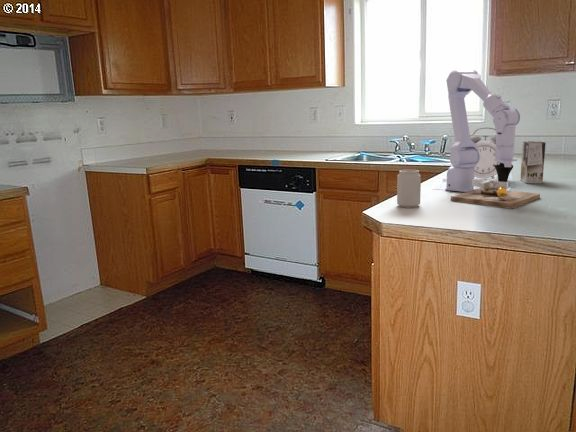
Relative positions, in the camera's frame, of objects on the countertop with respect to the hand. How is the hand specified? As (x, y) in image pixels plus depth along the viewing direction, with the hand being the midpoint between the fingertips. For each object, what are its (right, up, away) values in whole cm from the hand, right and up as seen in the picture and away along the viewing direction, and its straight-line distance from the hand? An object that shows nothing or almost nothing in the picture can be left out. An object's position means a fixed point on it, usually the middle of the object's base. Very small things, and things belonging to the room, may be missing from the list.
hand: (502, 185), depth 167 cm
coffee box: (+25, +3, +30) cm, 39 cm away
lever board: (-3, -5, -1) cm, 6 cm away
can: (-34, -7, -5) cm, 35 cm away
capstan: (-4, -3, 0) cm, 5 cm away
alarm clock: (+9, +4, +38) cm, 40 cm away
